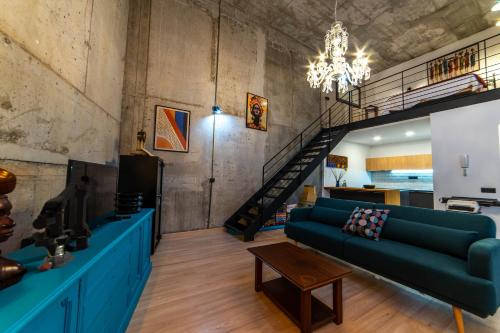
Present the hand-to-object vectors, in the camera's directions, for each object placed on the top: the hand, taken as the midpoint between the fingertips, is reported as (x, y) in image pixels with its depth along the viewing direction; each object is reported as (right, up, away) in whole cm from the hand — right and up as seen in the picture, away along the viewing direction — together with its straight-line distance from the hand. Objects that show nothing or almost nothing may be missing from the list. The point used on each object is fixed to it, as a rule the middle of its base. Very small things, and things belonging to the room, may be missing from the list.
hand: (56, 254), depth 103 cm
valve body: (0, -5, 0) cm, 5 cm away
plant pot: (-12, -6, +12) cm, 18 cm away
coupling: (0, -1, 0) cm, 1 cm away
